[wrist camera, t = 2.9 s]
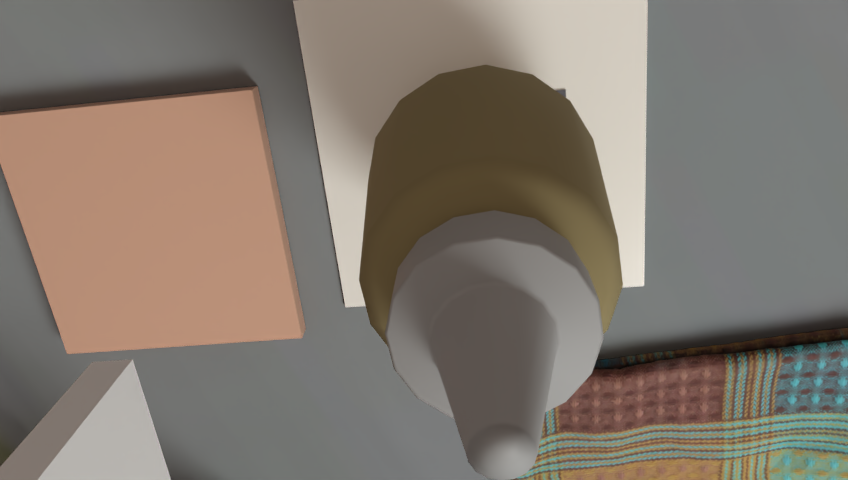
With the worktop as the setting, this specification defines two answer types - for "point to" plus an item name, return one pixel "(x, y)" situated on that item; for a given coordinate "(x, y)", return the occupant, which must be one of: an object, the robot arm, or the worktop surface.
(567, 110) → the squeeze bottle
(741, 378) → the dish towel
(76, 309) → the coaster pad
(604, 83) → the white flat square slab
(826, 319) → the worktop surface
